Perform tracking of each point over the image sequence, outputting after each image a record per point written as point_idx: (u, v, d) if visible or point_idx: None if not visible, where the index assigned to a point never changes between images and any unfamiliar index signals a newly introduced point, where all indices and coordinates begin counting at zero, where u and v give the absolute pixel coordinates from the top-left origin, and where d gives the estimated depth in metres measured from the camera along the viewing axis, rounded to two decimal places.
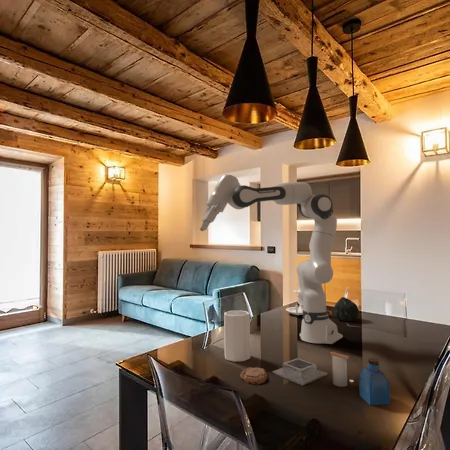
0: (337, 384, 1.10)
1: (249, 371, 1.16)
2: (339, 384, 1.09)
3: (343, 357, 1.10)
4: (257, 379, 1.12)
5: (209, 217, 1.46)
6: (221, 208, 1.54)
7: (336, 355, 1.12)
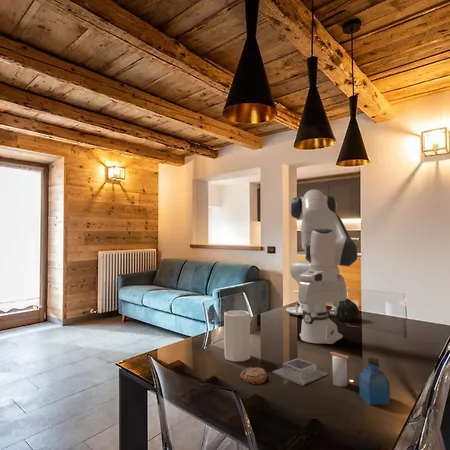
0: (337, 384, 1.10)
1: (249, 371, 1.16)
2: (339, 384, 1.09)
3: (343, 357, 1.10)
4: (257, 379, 1.12)
5: None
6: None
7: (336, 355, 1.12)
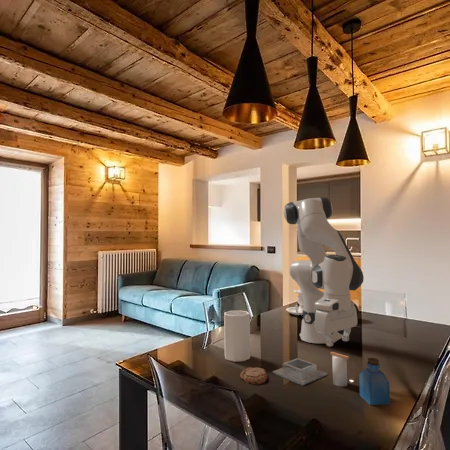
0: (337, 384, 1.10)
1: (249, 371, 1.16)
2: (339, 384, 1.09)
3: (343, 357, 1.10)
4: (257, 379, 1.12)
5: None
6: None
7: (336, 355, 1.12)
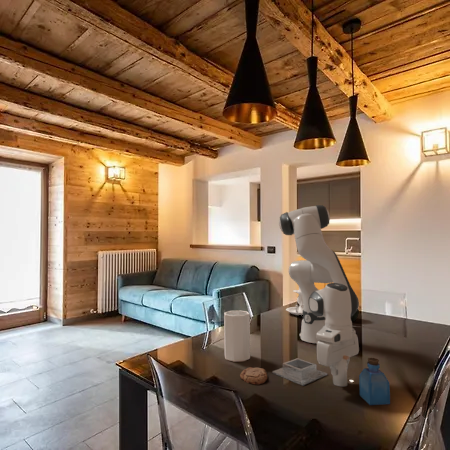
0: (337, 384, 1.10)
1: (249, 371, 1.16)
2: (339, 384, 1.09)
3: (343, 357, 1.10)
4: (257, 379, 1.12)
5: None
6: None
7: None
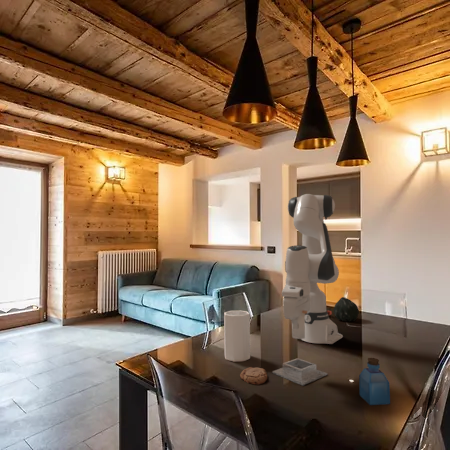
0: (298, 337, 1.18)
1: (249, 371, 1.16)
2: (299, 337, 1.18)
3: (302, 312, 1.20)
4: (257, 379, 1.12)
5: None
6: None
7: None
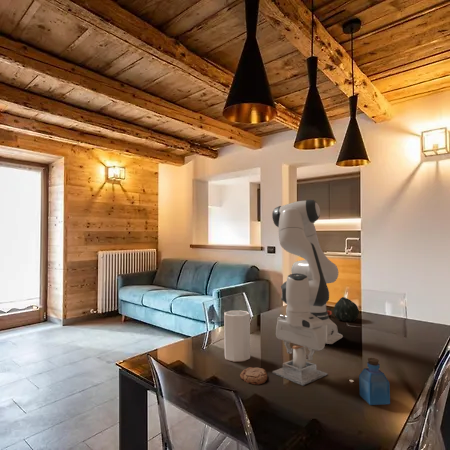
0: None
1: (249, 371, 1.16)
2: None
3: None
4: (257, 379, 1.12)
5: None
6: (286, 320, 1.22)
7: (299, 346, 1.20)
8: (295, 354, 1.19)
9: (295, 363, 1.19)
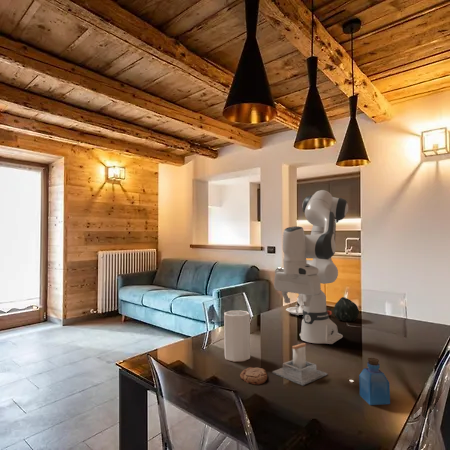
0: None
1: (249, 371, 1.16)
2: None
3: (303, 345, 1.21)
4: (257, 379, 1.12)
5: None
6: None
7: (299, 346, 1.20)
8: (295, 354, 1.19)
9: (295, 363, 1.19)
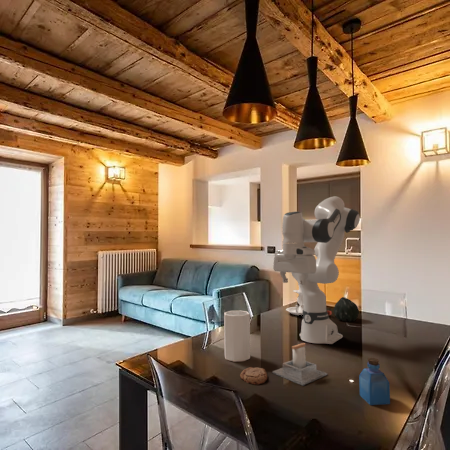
0: None
1: (249, 371, 1.16)
2: None
3: (303, 345, 1.21)
4: (257, 379, 1.12)
5: None
6: None
7: (298, 346, 1.20)
8: (294, 354, 1.19)
9: (295, 363, 1.19)
